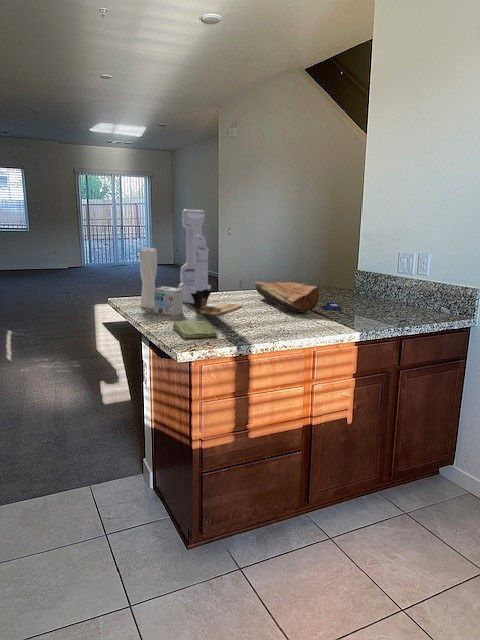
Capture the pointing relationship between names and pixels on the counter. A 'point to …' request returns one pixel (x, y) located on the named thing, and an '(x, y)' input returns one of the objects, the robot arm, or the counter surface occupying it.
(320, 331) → the counter surface
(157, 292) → the light bulb box
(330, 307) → the bar clamp
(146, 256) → the skyscraper
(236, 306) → the board
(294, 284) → the log
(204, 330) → the washcloth
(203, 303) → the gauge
